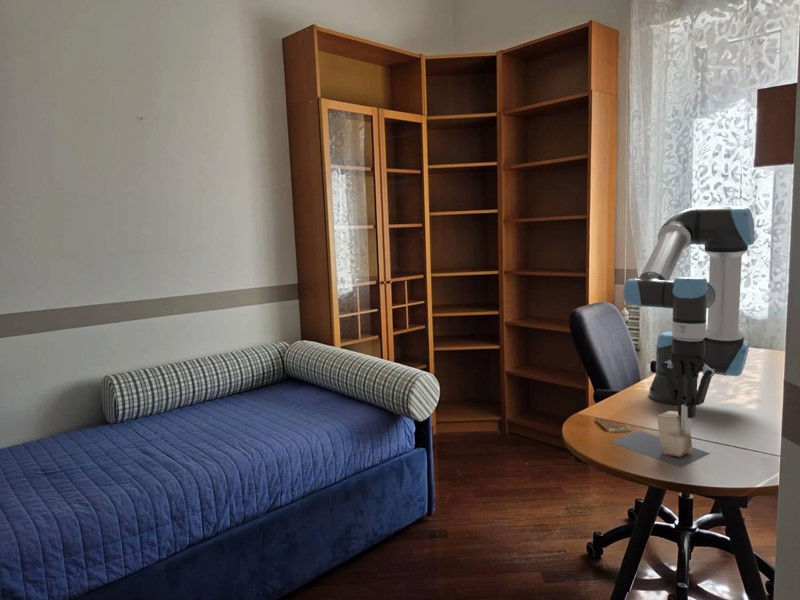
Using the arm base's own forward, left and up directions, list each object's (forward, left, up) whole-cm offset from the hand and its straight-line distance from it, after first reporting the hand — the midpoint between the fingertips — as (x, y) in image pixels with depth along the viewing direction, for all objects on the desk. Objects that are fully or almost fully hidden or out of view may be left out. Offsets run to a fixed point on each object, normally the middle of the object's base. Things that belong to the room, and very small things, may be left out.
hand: (686, 429), depth 141 cm
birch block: (0, -2, -7) cm, 7 cm away
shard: (-3, -24, -9) cm, 26 cm away
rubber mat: (0, -7, -8) cm, 10 cm away
